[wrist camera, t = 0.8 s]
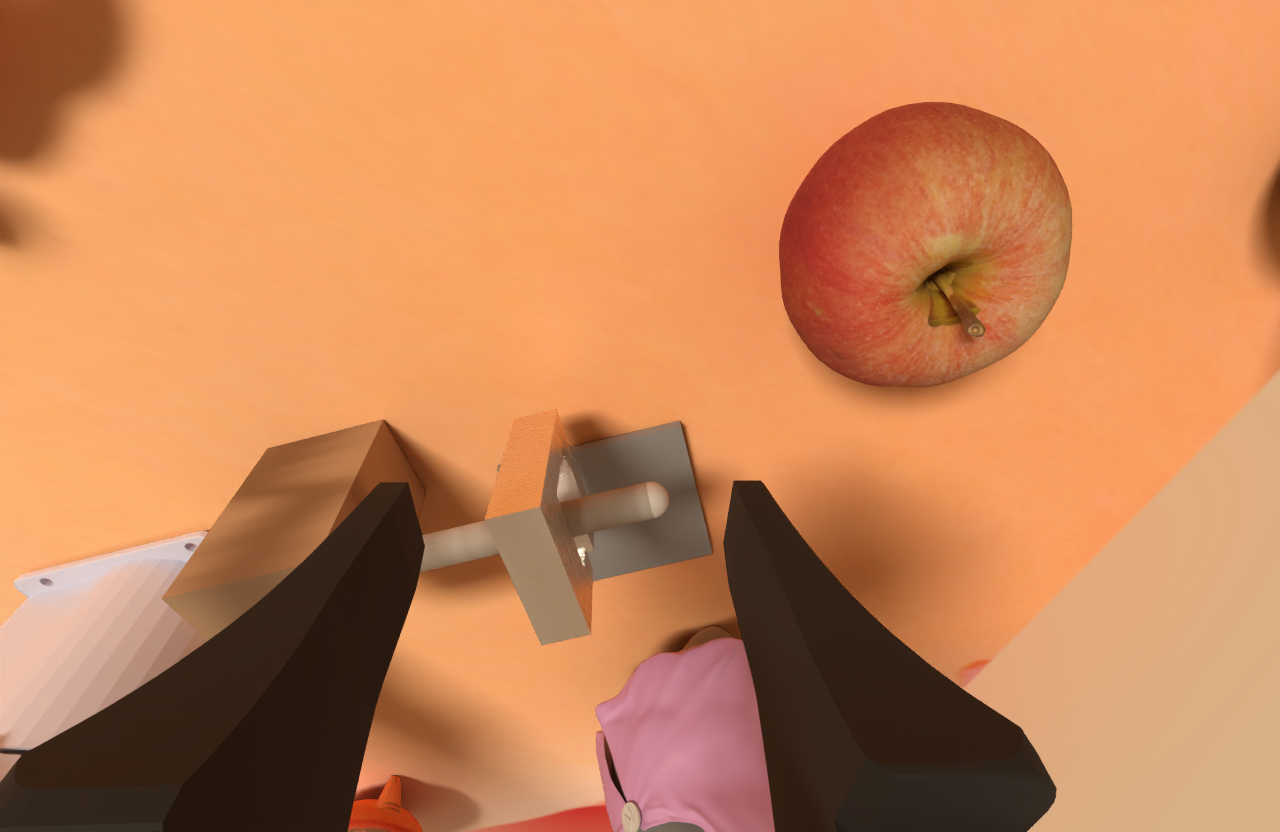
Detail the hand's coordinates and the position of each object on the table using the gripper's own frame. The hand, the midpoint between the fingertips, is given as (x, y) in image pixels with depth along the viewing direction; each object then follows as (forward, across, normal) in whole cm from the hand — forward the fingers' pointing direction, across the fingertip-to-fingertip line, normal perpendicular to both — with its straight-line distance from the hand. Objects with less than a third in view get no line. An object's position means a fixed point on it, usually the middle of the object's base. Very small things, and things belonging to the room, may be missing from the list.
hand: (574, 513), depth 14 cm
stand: (+10, +5, +6) cm, 13 cm away
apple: (+11, -10, -3) cm, 15 cm away
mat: (+10, -1, +10) cm, 14 cm away
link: (+8, +1, +5) cm, 9 cm away
